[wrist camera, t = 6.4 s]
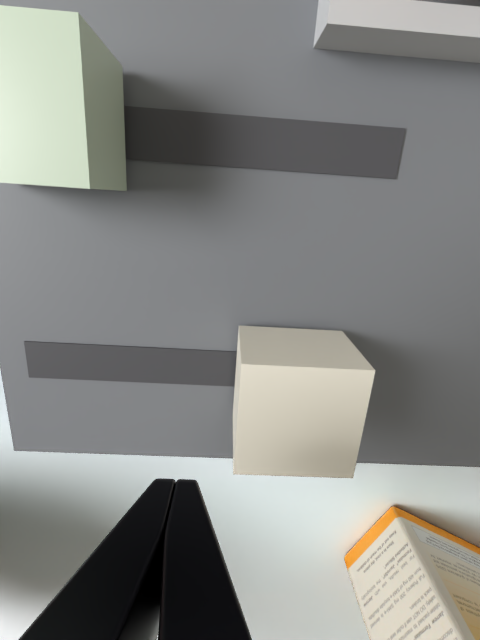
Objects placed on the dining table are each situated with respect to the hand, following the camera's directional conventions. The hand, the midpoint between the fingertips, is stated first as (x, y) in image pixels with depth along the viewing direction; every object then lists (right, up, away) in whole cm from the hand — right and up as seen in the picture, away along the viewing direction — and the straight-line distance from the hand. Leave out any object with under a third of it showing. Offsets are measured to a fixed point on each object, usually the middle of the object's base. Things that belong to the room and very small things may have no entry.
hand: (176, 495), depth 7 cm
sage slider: (-4, +9, +3) cm, 10 cm away
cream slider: (+3, +2, +6) cm, 7 cm away
